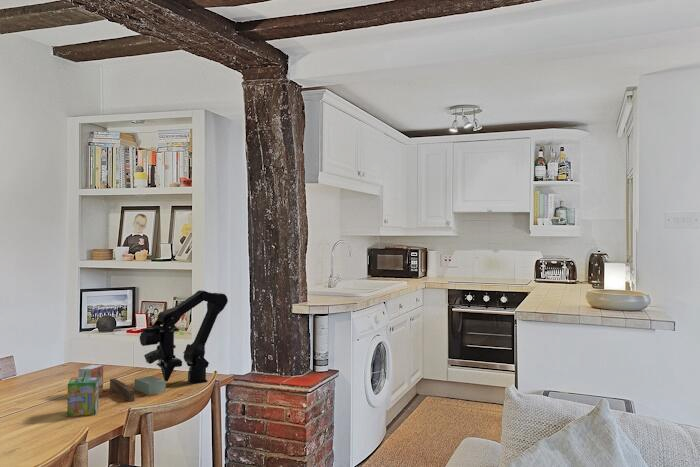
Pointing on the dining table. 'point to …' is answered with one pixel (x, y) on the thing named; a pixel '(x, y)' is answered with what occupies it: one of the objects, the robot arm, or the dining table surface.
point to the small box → (93, 373)
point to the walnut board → (122, 390)
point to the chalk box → (83, 396)
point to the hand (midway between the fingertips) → (166, 381)
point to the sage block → (150, 385)
